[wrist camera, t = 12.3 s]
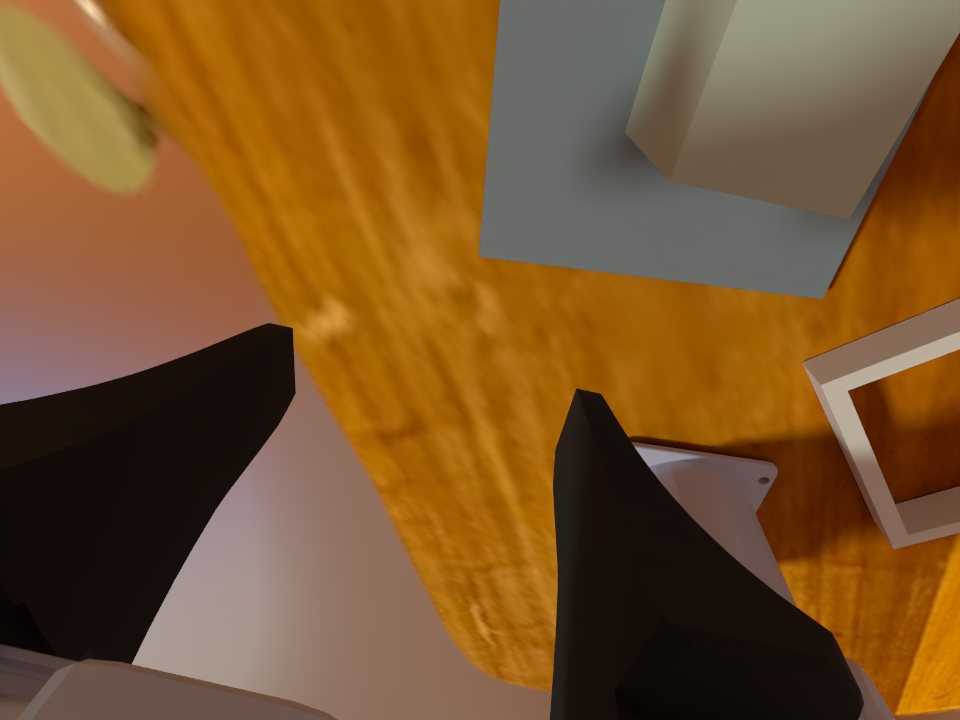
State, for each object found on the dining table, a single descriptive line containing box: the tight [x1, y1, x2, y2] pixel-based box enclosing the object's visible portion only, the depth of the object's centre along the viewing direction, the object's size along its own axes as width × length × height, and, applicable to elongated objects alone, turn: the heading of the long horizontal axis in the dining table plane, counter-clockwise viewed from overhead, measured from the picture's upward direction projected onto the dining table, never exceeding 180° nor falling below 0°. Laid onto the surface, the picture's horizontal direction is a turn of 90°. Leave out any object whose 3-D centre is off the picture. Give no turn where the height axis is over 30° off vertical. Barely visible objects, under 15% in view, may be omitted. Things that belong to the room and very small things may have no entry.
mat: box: [479, 0, 936, 299], centre depth 17 cm, size 14×14×1 cm
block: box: [625, 0, 960, 219], centre depth 13 cm, size 4×4×8 cm
